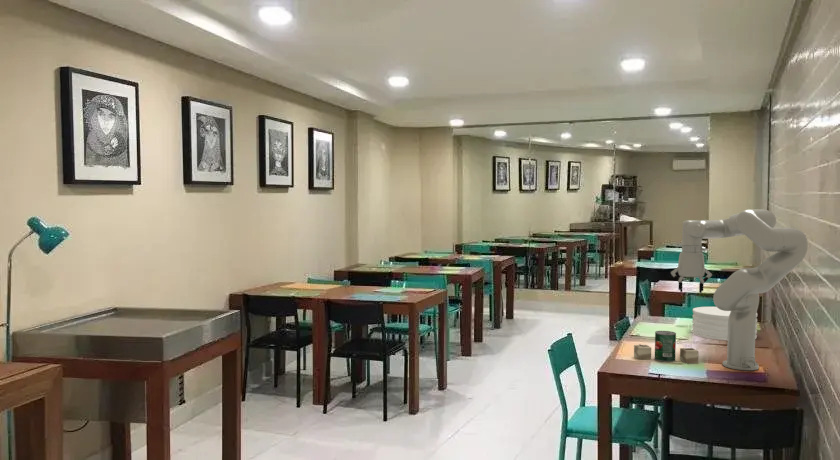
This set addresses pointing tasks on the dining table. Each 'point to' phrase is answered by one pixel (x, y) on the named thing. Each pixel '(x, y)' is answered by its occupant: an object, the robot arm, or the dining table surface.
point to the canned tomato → (665, 346)
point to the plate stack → (712, 323)
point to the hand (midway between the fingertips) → (690, 291)
